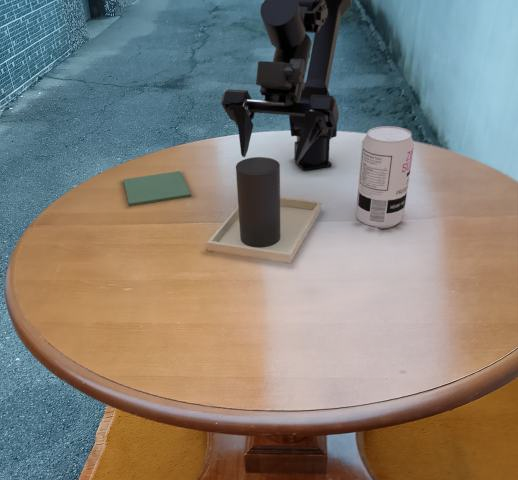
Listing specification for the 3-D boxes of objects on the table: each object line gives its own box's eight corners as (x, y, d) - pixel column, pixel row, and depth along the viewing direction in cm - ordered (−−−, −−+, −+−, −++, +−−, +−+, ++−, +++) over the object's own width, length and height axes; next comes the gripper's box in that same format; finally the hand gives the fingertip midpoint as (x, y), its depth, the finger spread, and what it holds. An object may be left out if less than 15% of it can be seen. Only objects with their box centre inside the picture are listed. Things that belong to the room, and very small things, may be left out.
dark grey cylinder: (273, 225, 94) (272, 154, 86) (285, 243, 89) (285, 170, 81) (236, 231, 93) (231, 160, 84) (246, 250, 87) (242, 176, 79)
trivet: (180, 173, 114) (180, 170, 113) (191, 196, 105) (190, 193, 105) (123, 182, 111) (123, 179, 111) (129, 206, 103) (128, 203, 102)
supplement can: (351, 210, 98) (357, 126, 88) (395, 207, 99) (407, 123, 89) (361, 231, 92) (369, 144, 82) (408, 228, 92) (422, 140, 83)
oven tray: (248, 202, 102) (248, 193, 101) (321, 212, 98) (321, 202, 97) (207, 252, 88) (206, 242, 87) (290, 265, 84) (290, 254, 83)
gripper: (220, 33, 83) (199, 129, 82) (339, 37, 78) (317, 140, 77) (241, 75, 94) (222, 161, 93) (346, 81, 89) (327, 172, 88)
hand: (269, 158), depth 87 cm, fingers open, 9 cm apart
